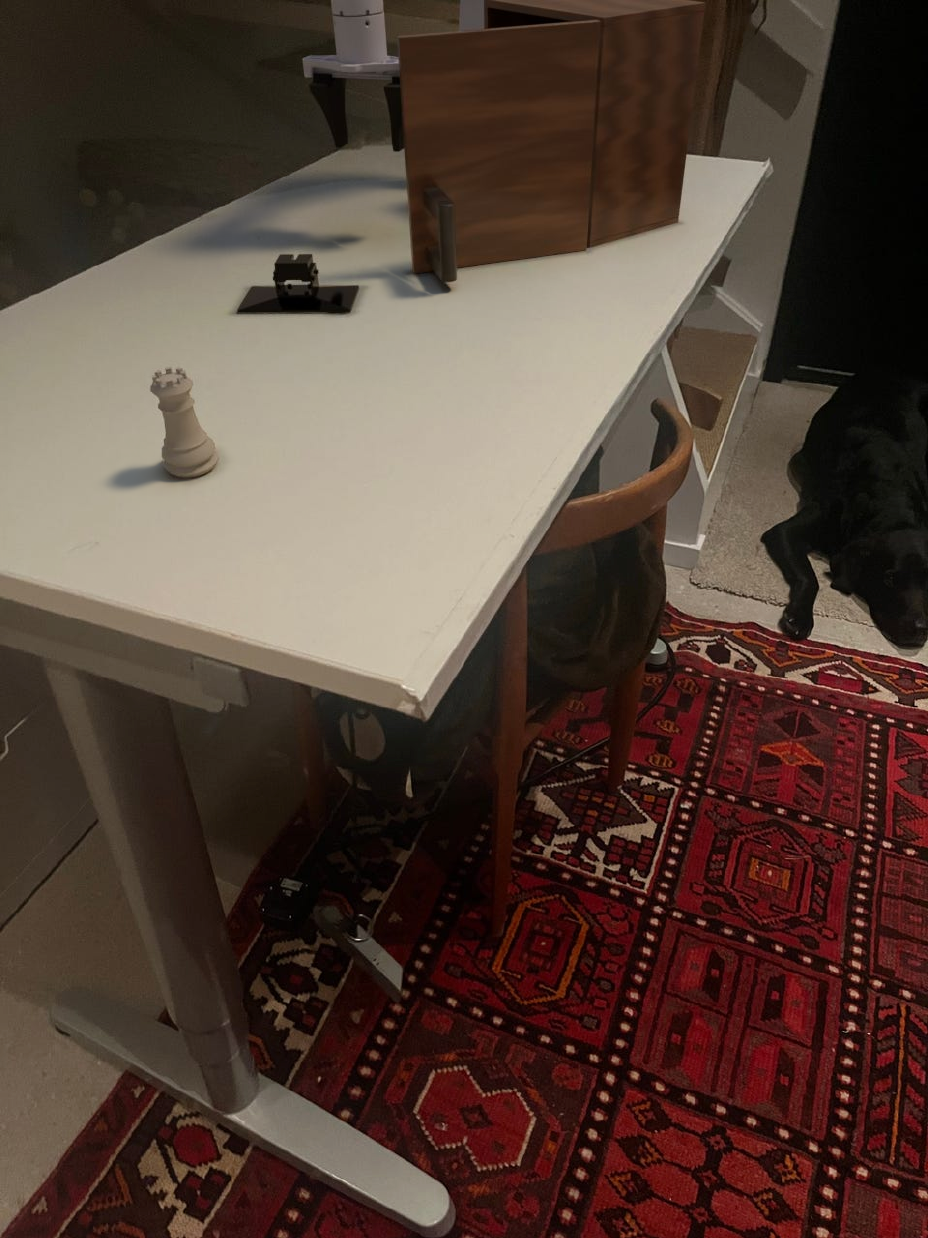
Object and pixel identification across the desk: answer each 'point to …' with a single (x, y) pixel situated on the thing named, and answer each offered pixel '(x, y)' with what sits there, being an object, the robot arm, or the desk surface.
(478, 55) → the cupboard door
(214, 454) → the rook chess piece
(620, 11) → the cupboard
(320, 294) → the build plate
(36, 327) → the desk surface
